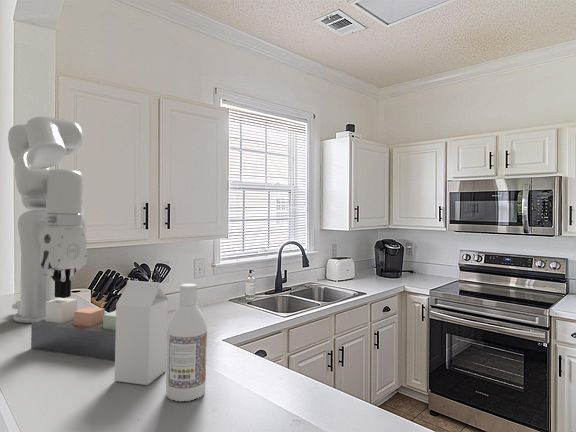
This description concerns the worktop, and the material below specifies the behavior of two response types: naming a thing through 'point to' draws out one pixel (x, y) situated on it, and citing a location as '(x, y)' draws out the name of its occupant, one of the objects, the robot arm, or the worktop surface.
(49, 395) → the worktop surface
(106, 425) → the worktop surface
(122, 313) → the milk carton
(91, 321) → the peach key
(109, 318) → the pale green block
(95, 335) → the grey socket block
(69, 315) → the ivory key
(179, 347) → the bath foam
